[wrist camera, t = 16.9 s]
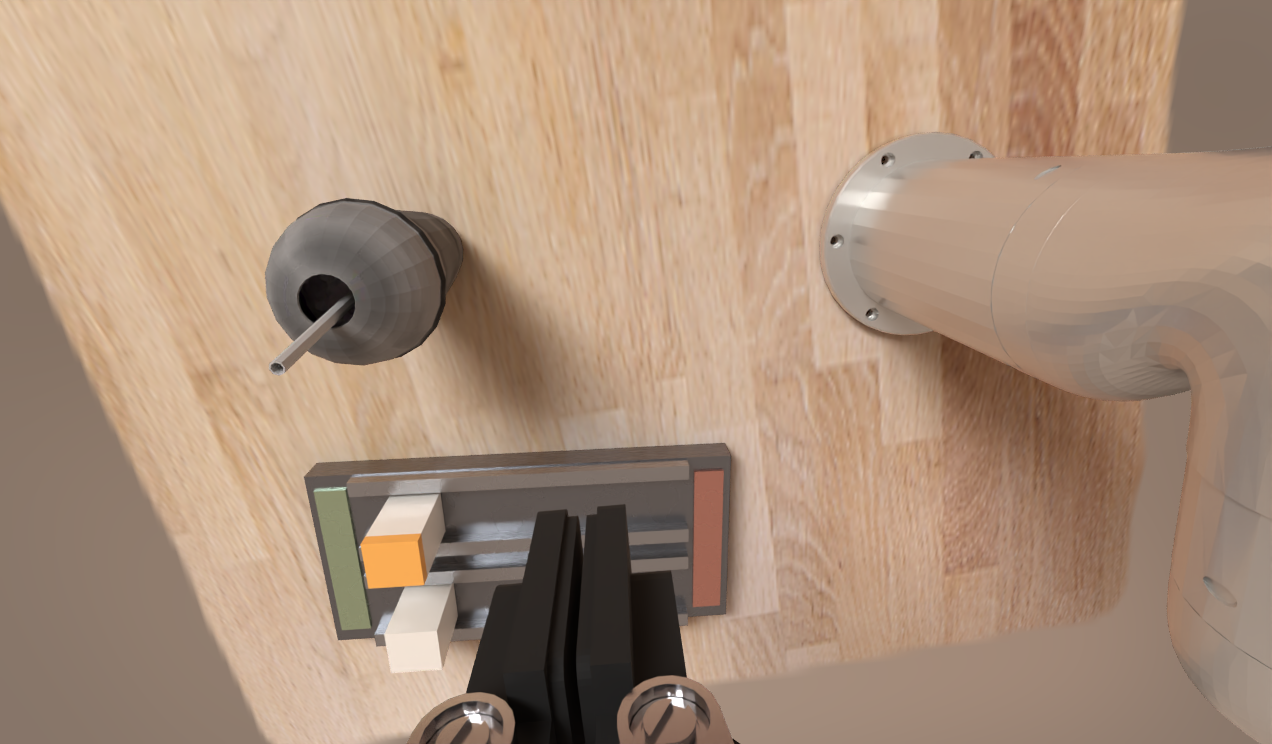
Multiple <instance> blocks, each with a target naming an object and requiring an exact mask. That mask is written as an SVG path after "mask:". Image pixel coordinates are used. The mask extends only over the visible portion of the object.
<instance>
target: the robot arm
mask: <svg viewBox="0 0 1272 744" xmlns="http://www.w3.org/2000/svg"><path fill="white" fill-rule="evenodd" d="M882 156H884V157H885V162H884V163H883V164H882V163H881V159H882ZM969 157H971V159H969ZM833 236H834V237H835V242H834V243H833V244H831V243H830V241H831V238H832V237H833ZM819 247H820V262H821V267H822V271H823V274H824V278H825V281H826V283H827V285H828V287H829V289H830V291H831V293H832V295H833V297H834V298H835V299H836V301H837V302H838V303H839V304H840V306H841V307H842V308H843V309H844V310H845V311H846V312H847V313H849V314H850V315H851V316H852V317H853V318H855V319H856V320H858V321H859V322H861V323H863V324H864V325H866V326H868V327H871V328H873V329H876V330H879V331H881V332H884V333H890V334H896V335H919V334H923V333H928V332H932V331H936V332H938V333H940V334H942V335H944V336H947V337H949V338H951V339H953V340H955V341H957V342H959V343H961V344H964V345H966V346H968V347H970V348H972V349H974V350H976V351H978V352H981V353H983V354H985V355H987V356H989V357H991V358H993V359H995V360H998V361H1000V362H1002V363H1004V364H1006V365H1008V366H1010V367H1012V368H1015V369H1017V370H1019V371H1021V372H1023V373H1025V374H1027V375H1029V376H1032V377H1034V378H1036V379H1039V380H1041V381H1043V382H1046V383H1048V384H1050V385H1052V386H1054V387H1057V388H1059V389H1061V390H1064V391H1067V392H1069V393H1072V394H1075V395H1079V396H1082V397H1087V398H1092V399H1097V400H1105V401H1140V400H1148V399H1154V398H1158V397H1164V396H1169V395H1174V394H1177V393H1182V392H1185V391H1189V390H1191V401H1192V402H1191V416H1190V425H1189V433H1188V438H1187V445H1186V450H1187V462H1186V468H1185V474H1184V481H1183V487H1182V494H1181V500H1180V506H1179V513H1178V519H1177V526H1176V532H1175V539H1174V545H1173V551H1172V563H1171V569H1170V577H1169V583H1168V598H1167V618H1168V627H1169V632H1170V636H1171V640H1172V644H1173V648H1174V650H1175V652H1176V655H1177V657H1178V659H1179V661H1180V663H1181V665H1182V667H1183V669H1184V671H1185V672H1186V673H1187V675H1188V677H1189V678H1190V680H1191V681H1192V682H1193V684H1194V685H1195V686H1196V687H1197V689H1198V690H1199V691H1200V692H1201V694H1202V695H1203V696H1204V697H1205V698H1206V699H1207V701H1208V702H1209V703H1210V704H1211V705H1212V706H1214V707H1215V708H1216V709H1217V710H1218V711H1219V712H1220V713H1221V714H1222V715H1223V716H1225V717H1226V718H1227V719H1228V720H1229V721H1230V722H1232V723H1233V724H1234V725H1235V726H1237V727H1238V728H1239V729H1240V730H1242V731H1243V732H1244V733H1245V734H1247V735H1248V736H1250V737H1251V738H1252V739H1254V740H1255V741H1257V742H1258V743H1260V744H1272V146H1271V147H1262V148H1249V149H1239V150H1225V151H1211V152H1193V153H1168V154H1135V155H1095V156H1054V157H1013V158H996V157H994V156H993V155H992V154H991V153H990V152H989V151H988V150H987V149H986V148H984V147H983V146H981V145H979V144H978V143H976V142H974V141H973V140H971V139H968V138H965V137H962V136H959V135H956V134H949V133H938V132H931V133H919V134H914V135H910V136H905V137H901V138H898V139H895V140H893V141H891V142H889V143H886V144H884V145H882V146H880V147H878V148H877V149H876V150H874V151H873V152H871V153H870V154H868V155H867V156H865V157H864V158H863V159H862V160H861V161H860V162H859V163H857V164H856V165H855V166H854V167H853V168H852V169H851V170H850V171H849V172H848V174H847V175H846V176H845V178H844V179H843V180H842V182H841V183H840V185H839V186H838V187H837V189H836V191H835V193H834V195H833V197H832V199H831V201H830V203H829V205H828V207H827V210H826V213H825V216H824V220H823V223H822V227H821V236H820V244H819ZM869 309H870V312H869V314H868V315H866V312H867V311H868V310H869ZM406 744H740V743H738V742H737V741H735V740H734V739H732V737H731V734H730V731H729V729H728V726H727V724H726V721H725V718H724V716H723V713H722V711H721V708H720V706H719V704H718V702H717V701H716V699H715V697H714V696H713V694H712V693H711V692H710V691H709V690H708V689H707V688H705V687H704V686H703V685H702V684H700V683H698V682H696V681H694V680H691V679H689V678H687V675H686V669H685V662H684V655H683V648H682V641H681V634H680V627H679V620H678V613H677V606H676V599H675V592H674V586H673V579H672V572H671V570H667V571H655V572H644V573H632V569H631V558H630V547H629V536H628V525H627V515H626V505H625V504H621V505H609V506H598V507H597V514H593V515H587V517H586V529H585V543H584V555H583V547H582V538H581V530H580V522H579V517H578V516H570V517H569V516H568V511H567V509H562V510H550V511H539V512H538V513H537V517H536V521H535V526H534V531H533V535H532V540H531V544H530V549H529V554H528V558H527V563H526V568H525V572H524V577H523V582H522V583H516V584H504V585H498V586H497V587H496V588H495V591H494V594H493V597H492V601H491V605H490V608H489V612H488V615H487V619H486V623H485V626H484V630H483V634H482V637H481V641H480V644H479V648H478V652H477V655H476V659H475V662H474V666H473V670H472V673H471V677H470V680H469V684H468V688H467V691H466V694H462V695H459V696H456V697H453V698H450V699H448V700H446V701H445V702H443V703H441V704H439V705H438V706H436V707H434V708H433V709H432V710H431V711H430V712H429V713H428V714H427V715H425V716H424V717H423V718H422V719H421V721H420V722H419V723H418V725H417V726H416V728H415V729H414V731H413V732H412V734H411V736H410V738H409V740H408V741H407V743H406Z"/></svg>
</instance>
